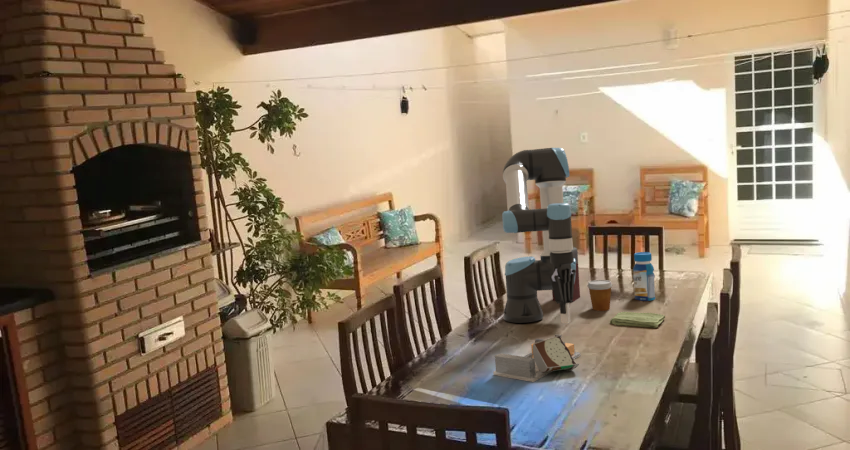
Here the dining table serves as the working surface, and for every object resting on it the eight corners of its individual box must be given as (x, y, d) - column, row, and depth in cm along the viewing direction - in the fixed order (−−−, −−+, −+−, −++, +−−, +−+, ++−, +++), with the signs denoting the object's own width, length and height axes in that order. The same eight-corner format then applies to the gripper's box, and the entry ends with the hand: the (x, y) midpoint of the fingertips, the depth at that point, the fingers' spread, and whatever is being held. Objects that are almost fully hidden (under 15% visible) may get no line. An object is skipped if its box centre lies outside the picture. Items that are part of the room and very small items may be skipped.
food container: (545, 385, 204) (575, 377, 207) (549, 372, 200) (580, 365, 203) (527, 352, 213) (556, 346, 216) (531, 339, 209) (560, 333, 212)
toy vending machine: (582, 300, 296) (578, 235, 293) (573, 306, 286) (569, 239, 283) (562, 299, 301) (558, 235, 298) (552, 305, 291) (548, 239, 288)
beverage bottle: (658, 302, 281) (656, 253, 279) (637, 304, 282) (635, 255, 280) (652, 298, 290) (650, 250, 288) (631, 299, 290) (629, 252, 288)
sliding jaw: (531, 353, 223) (530, 339, 222) (541, 348, 227) (540, 334, 227) (565, 358, 215) (564, 344, 214) (574, 353, 219) (573, 339, 219)
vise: (493, 374, 209) (492, 355, 208) (542, 350, 230) (541, 332, 229) (533, 382, 199) (532, 361, 199) (580, 355, 220) (579, 337, 220)
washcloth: (659, 329, 244) (658, 320, 244) (608, 327, 253) (608, 318, 253) (666, 320, 255) (665, 311, 255) (618, 318, 264) (617, 309, 264)
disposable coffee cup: (600, 316, 267) (598, 285, 266) (583, 312, 276) (582, 282, 275) (619, 311, 272) (617, 281, 270) (602, 308, 280) (600, 278, 279)
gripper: (561, 248, 232) (565, 317, 234) (540, 253, 222) (545, 326, 224) (581, 248, 227) (585, 319, 229) (561, 254, 217) (566, 328, 219)
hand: (565, 322), depth 227 cm, fingers closed
